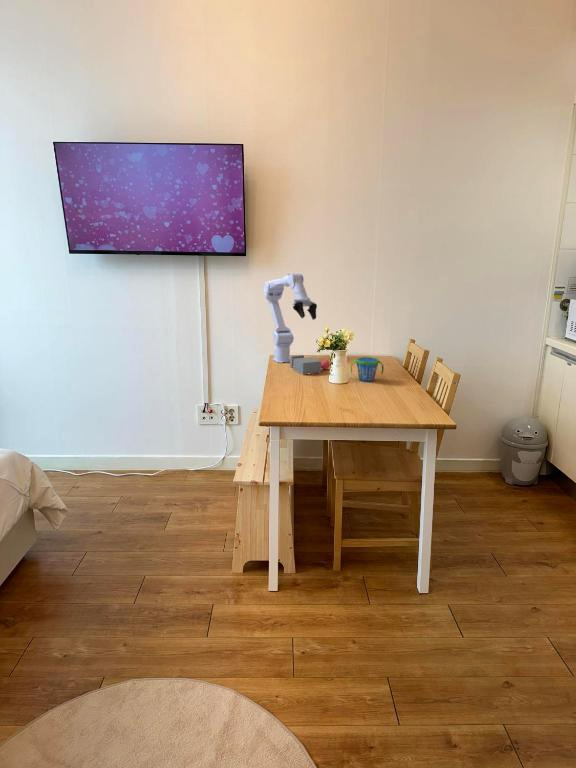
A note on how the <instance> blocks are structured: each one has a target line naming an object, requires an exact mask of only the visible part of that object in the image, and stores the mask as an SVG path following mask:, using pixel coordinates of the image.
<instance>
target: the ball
mask: <svg viewBox="0 0 576 768" xmlns="http://www.w3.org/2000/svg"><path fill="white" fill-rule="evenodd" d="M330 367H331V363H330V362H329V361H328V360H327V359H324V360H322V361H321V370H323V369H325V370H324V371H327V370H329V368H330ZM326 369H327V370H326Z"/></svg>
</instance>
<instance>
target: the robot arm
mask: <svg viewBox="0 0 576 768" xmlns="http://www.w3.org/2000/svg"><path fill="white" fill-rule="evenodd" d="M304 281H305V280H304V275H303V274H302V273H286V275H284V276H283V277H282V278H279V279H272V280H268V281H265V282H264V285H263V293H264V296H265V299H266V300H267V302H268V305H269V309H270V312H271V313H270V314H271V316H272V320H273V323H274V326H275V329H274V330H273V332H272V341H273V343H274V347H273V358H271V359H272V361H275V362H277V363H278V362H279V364H282V363H283V362H285V363H290V356H291V354H290V352H291V349H290V348H291V345H292V343H293V342H294V334H293V332H292V331H291V329H290V328H289V327H287V326H286V324H285V320H284V318H283V313H282V310H281V307H280V303H279V301H280V299H282V296H283V294H284V290H285V287H291V288H290V289H292V291H293V293H294V297H295V299H292V301H291V304H292V309H293V310H294V311H296V313H297V314H298V315H299V317H300V319H304V318H305V316H306V314H305V313H306V312H305V310H304V307H308V308H307V312H308V313H309V315H310V317H311V319H312V320H313V321H315V320H316V318H317V308H318V305H317V303H316V302H314V301H312V300H311V298H310V297H309V296H308V294H307V291H306V288H305V286H304ZM283 364H284V363H283Z"/></svg>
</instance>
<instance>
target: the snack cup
mask: <svg viewBox="0 0 576 768" xmlns="http://www.w3.org/2000/svg"><path fill="white" fill-rule="evenodd" d="M355 363H356V366H357V374H358V380H359V381H362V382H374V381H375V378H376V375H377V374H376V373H377V369H378V366H379V364H380V365H381V374H382V375H383V374H384V364H383V362H382V361H381V360H380V359H378V358H375V357H370V356H369V357H367V356H365V357H364V356H362V357H358V358H356V359H355V360H353V361H352V363H351V364H350V365H351V366H350V372H351V374H352V373H353V365H354V364H355Z"/></svg>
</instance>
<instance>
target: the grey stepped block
mask: <svg viewBox="0 0 576 768" xmlns="http://www.w3.org/2000/svg"><path fill="white" fill-rule="evenodd" d="M321 362H322V361H321V360H319V359H317V358H315V357H311V356H310V357H305V355H303V354H296V355H290V362H289V366H290V368H292V367H293V368H292V370H293V371H294V370H295V371H294V372H296V371H298V372H299V373H298V372H297V373H298V374H300V373H302V374H308V373H317V372H321V373H322V368H321ZM302 374H301V375H302ZM317 374H318V373H317ZM308 375H309V374H308Z"/></svg>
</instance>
